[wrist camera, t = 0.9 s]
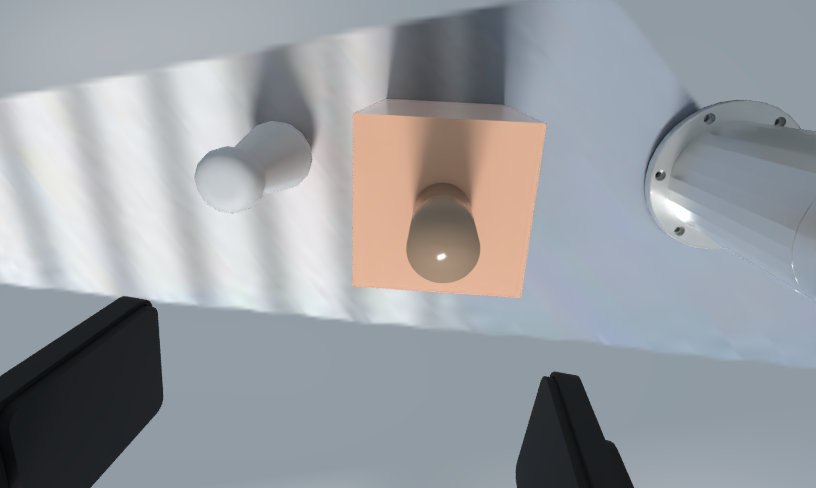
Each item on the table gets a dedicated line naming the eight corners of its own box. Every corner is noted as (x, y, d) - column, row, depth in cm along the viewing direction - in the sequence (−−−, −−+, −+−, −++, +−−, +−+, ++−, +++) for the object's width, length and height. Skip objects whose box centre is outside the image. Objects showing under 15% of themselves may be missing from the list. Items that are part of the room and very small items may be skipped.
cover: (504, 104, 38) (580, 138, 18) (491, 218, 42) (542, 356, 21) (386, 98, 39) (326, 125, 18) (383, 211, 42) (330, 340, 22)
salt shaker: (249, 120, 40) (167, 139, 28) (313, 115, 40) (257, 133, 27) (261, 185, 42) (189, 230, 30) (322, 181, 42) (274, 225, 30)
